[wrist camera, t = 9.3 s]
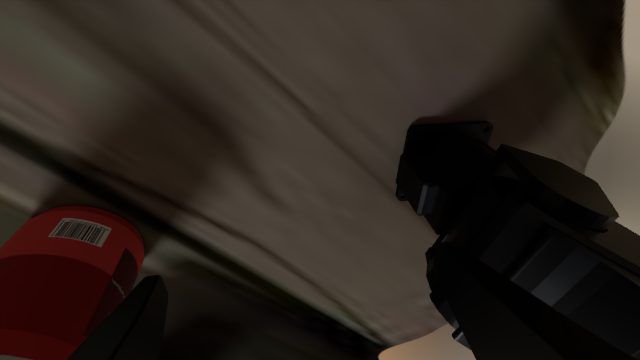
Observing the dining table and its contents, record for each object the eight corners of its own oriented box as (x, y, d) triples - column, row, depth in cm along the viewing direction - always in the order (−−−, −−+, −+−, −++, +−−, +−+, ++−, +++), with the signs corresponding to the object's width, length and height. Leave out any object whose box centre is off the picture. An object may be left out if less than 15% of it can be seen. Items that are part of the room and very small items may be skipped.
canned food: (-4, 219, 21) (-206, 405, 12) (110, 188, 21) (-3, 348, 12) (71, 287, 25) (-34, 461, 16) (166, 261, 25) (114, 418, 16)
